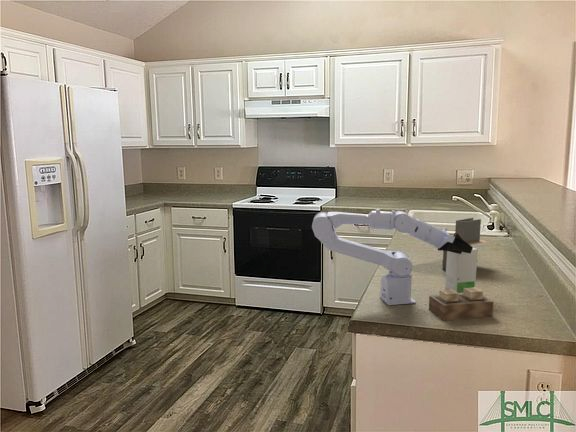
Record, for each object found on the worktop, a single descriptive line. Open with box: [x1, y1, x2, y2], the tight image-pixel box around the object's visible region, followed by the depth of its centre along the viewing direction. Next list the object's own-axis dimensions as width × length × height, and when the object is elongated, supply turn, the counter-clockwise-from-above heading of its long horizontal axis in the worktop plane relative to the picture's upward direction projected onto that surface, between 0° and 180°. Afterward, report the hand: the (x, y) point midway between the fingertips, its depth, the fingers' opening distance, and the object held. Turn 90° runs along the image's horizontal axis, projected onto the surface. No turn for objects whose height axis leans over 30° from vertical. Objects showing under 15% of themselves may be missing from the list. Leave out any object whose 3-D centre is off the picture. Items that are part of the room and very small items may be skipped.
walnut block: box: [428, 293, 494, 321], centre depth 146 cm, size 16×9×5 cm, turn 101°
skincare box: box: [444, 247, 479, 293], centre depth 164 cm, size 8×7×16 cm
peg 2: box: [463, 286, 484, 300], centre depth 146 cm, size 4×4×4 cm
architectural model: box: [436, 217, 487, 271], centre depth 193 cm, size 38×25×20 cm, turn 123°
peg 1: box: [438, 289, 459, 302], centre depth 145 cm, size 4×4×4 cm
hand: (466, 250), depth 152 cm, fingers open, 7 cm apart
